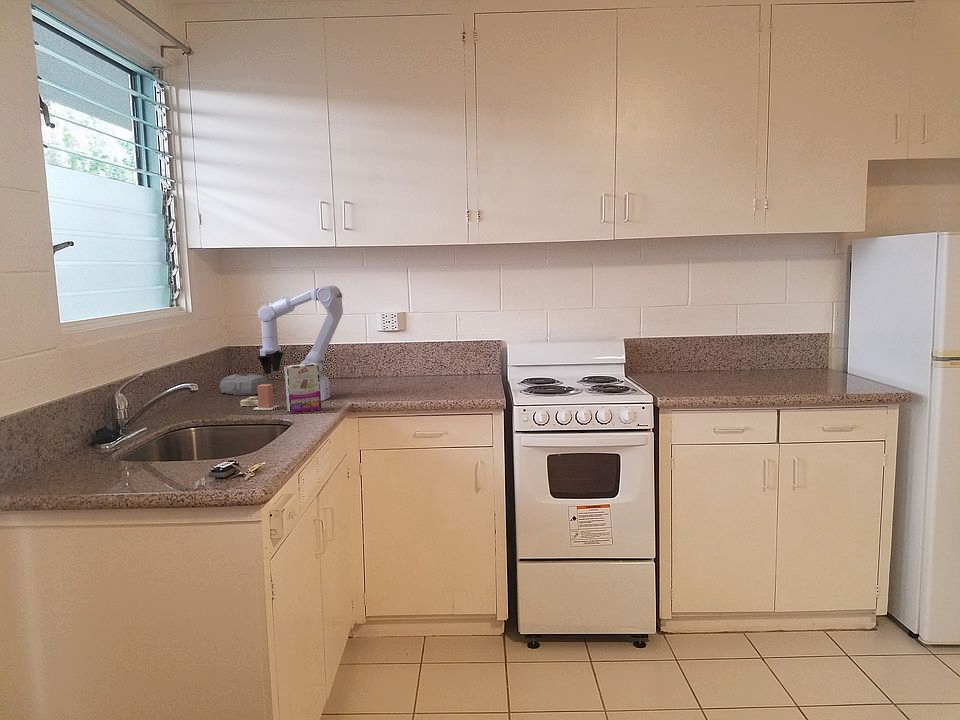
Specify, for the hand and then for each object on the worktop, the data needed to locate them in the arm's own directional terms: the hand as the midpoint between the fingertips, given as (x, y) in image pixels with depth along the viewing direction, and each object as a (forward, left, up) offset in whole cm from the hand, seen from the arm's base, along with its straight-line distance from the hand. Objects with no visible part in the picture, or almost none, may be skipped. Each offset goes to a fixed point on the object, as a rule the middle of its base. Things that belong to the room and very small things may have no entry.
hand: (272, 372), depth 276 cm
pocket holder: (+2, +11, -10) cm, 15 cm away
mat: (-6, +19, -10) cm, 22 cm away
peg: (-6, +19, -10) cm, 22 cm away
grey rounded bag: (+20, -14, -11) cm, 27 cm away
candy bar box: (-21, +22, -11) cm, 32 cm away
